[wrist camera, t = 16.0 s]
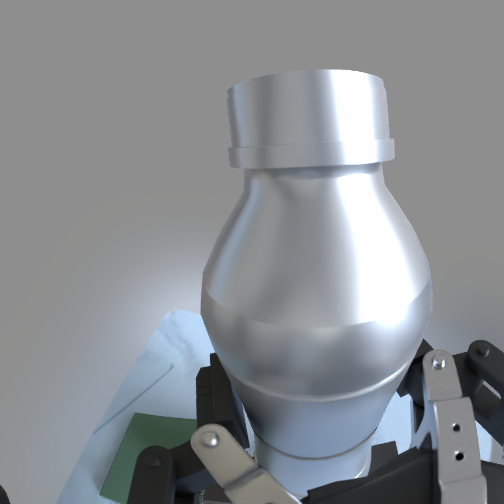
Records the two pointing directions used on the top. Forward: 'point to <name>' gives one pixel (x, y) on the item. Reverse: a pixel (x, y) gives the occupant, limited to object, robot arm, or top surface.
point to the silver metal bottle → (314, 274)
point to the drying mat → (137, 439)
